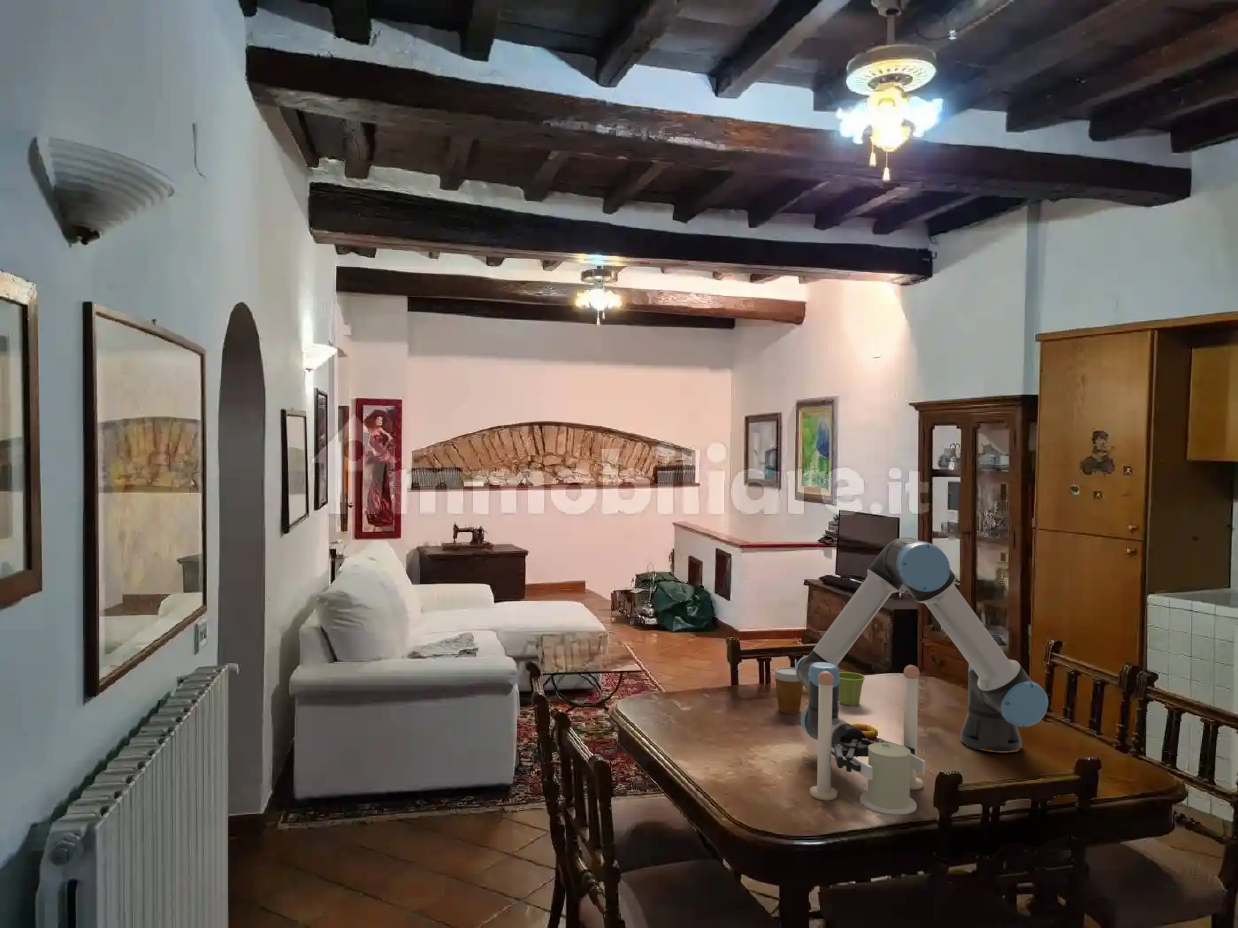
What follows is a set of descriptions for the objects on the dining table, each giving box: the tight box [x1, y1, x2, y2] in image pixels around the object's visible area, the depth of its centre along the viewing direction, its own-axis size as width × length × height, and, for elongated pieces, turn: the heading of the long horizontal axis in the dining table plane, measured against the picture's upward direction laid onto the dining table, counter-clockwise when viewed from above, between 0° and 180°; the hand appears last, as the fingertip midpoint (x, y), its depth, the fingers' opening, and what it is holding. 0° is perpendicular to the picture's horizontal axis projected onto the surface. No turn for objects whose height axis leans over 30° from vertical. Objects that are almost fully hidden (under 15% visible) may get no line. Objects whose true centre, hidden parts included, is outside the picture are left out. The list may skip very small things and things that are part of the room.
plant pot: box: [839, 671, 866, 707], centre depth 265 cm, size 9×9×9 cm
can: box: [867, 742, 911, 809], centre depth 189 cm, size 9×9×12 cm
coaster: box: [859, 790, 917, 816], centre depth 189 cm, size 12×12×1 cm
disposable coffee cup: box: [773, 666, 804, 714], centre depth 257 cm, size 10×10×12 cm
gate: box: [809, 664, 924, 801], centre depth 197 cm, size 29×6×28 cm, turn 107°
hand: (897, 770), depth 186 cm, fingers open, 13 cm apart
